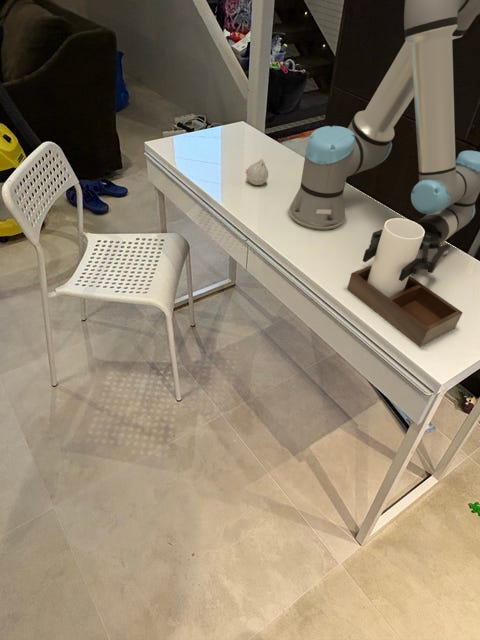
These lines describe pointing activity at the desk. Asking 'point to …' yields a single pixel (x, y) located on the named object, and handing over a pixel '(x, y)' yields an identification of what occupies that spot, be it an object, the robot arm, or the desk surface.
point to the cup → (395, 255)
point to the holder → (408, 308)
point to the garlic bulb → (257, 173)
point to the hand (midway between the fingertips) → (383, 265)
